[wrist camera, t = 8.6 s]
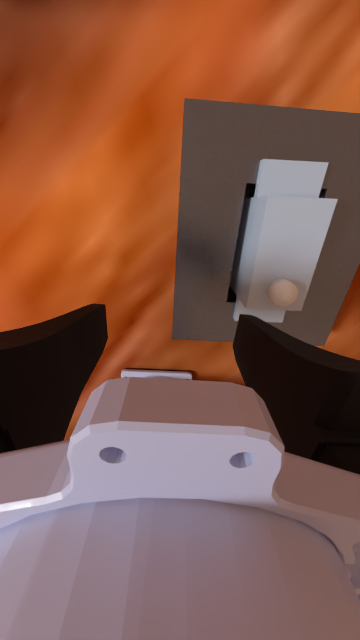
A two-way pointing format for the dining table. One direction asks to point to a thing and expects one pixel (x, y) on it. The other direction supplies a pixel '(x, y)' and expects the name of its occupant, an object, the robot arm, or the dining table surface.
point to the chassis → (240, 182)
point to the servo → (280, 238)
